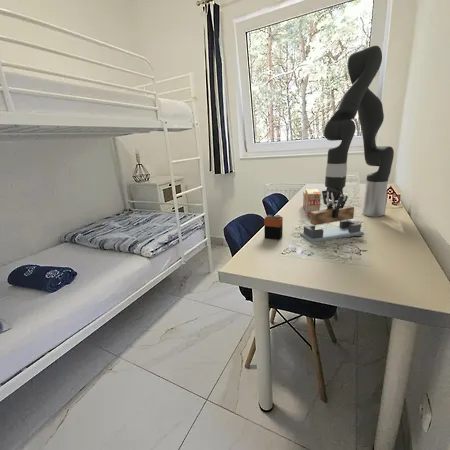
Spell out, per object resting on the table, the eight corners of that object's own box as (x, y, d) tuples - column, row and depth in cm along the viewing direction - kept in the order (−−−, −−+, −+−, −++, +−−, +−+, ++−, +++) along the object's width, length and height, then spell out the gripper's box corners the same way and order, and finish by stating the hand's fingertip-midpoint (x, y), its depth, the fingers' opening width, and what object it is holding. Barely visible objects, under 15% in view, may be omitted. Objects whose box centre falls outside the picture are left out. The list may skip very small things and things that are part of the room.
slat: (348, 216, 108) (349, 205, 107) (353, 218, 106) (354, 207, 104) (310, 223, 105) (310, 211, 103) (314, 225, 102) (314, 213, 101)
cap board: (348, 227, 114) (349, 218, 112) (363, 233, 105) (364, 224, 104) (300, 234, 109) (300, 225, 108) (311, 242, 101) (312, 232, 99)
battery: (279, 240, 105) (280, 217, 101) (264, 238, 108) (263, 216, 104) (282, 236, 108) (282, 214, 105) (267, 234, 111) (267, 213, 108)
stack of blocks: (302, 206, 152) (303, 185, 148) (313, 205, 151) (314, 185, 147) (307, 216, 133) (308, 193, 129) (319, 216, 131) (321, 193, 127)
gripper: (317, 173, 105) (314, 213, 111) (338, 177, 92) (334, 222, 98) (333, 172, 106) (329, 211, 112) (356, 176, 93) (351, 220, 99)
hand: (332, 216), depth 105 cm, fingers closed on slat, 3 cm apart
